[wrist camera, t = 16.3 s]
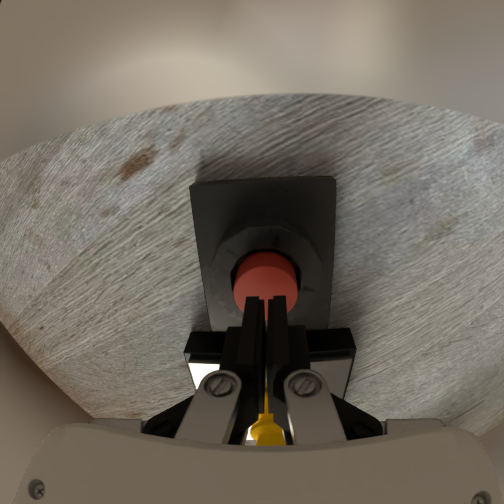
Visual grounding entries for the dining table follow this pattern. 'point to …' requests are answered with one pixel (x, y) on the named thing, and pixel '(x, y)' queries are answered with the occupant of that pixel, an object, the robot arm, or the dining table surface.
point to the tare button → (265, 279)
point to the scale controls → (266, 240)
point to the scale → (319, 344)
